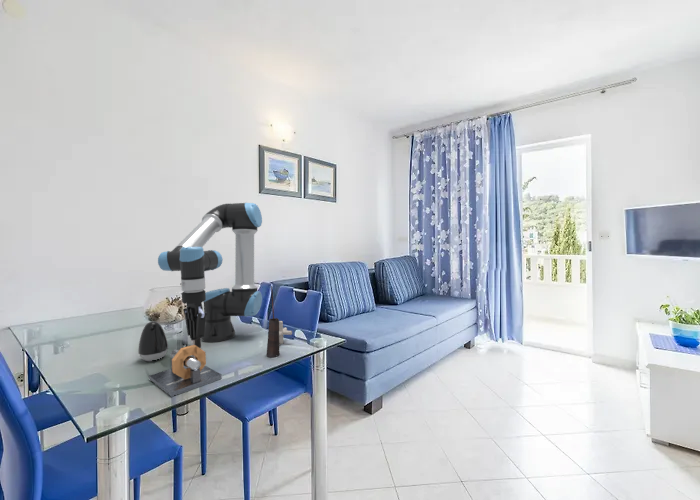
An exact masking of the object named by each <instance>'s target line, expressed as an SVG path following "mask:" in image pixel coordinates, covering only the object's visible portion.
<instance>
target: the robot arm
mask: <svg viewBox="0 0 700 500" xmlns="http://www.w3.org/2000/svg"><path fill="white" fill-rule="evenodd" d="M262 224H263V218H262V212H261V209H260V208H259V206H258V205H257V204H256V203H253V202H243V203H242V202H236V203H235V202H234V203H223V204H220V205H217V206H216V207H214V208H212V209H211V210H209V211H207V212H206V213H205V214H204V215H203V216H202V218H201V222H199V223H198V225H197V226H195V227H194V228H193V230H191V231H190V232H189V233H188V234H187V235H186V236H185V237H184V238H183V239H182V240H181V241H180V242H179V243H178V244H177V245H176V246H175V247H174V248H173V249H172V250H170V251H169V250H167V251H163V252H161V253H159V254H158V258H157V265H158V267H159V268H160V270H162V271H167V272H180V286H181V291H182V292H181V302H182V303H183V304H185V305H186V308H183V309H182V311H183V314H184V319H185V320H184V321H185V327H186V333H187V336H188V337H189V338H190V342H191V343H190V344H191V345H196V346H197V347H199V348H200V349H202V341H203V342H205V343H218V342H224V341H227V340H230V339H233V338H235V336H236V330H235V328H234V325H233V323H232V320H231V317H245V318H246V317H254V316H256V315H257V314H258V313H259V311H260V309H261V307H262V303H263V294H262V292H261V291H258V286H257V285H255V234H257V232H258V228H260V227H261V226H262ZM229 228H230V229H231V232H232V233H234V235H235V244H234V245H235V248H234V249H235V253H234V254H235V257H234V258H235V260H234V262H235V264H234V265H235V272H234V274H235V275H234V276H235V278H234V280H235V281H234V283H235V284H234V285H233V286H232V287H231V290H230V288H229V287H224V288H217V289H213V290H209V291H206V290H205V289H206V278H205V272H208V271H214V270H216V269H219V268H220V267H221V266H222V263H223V259H224V258H223V256H222V254H221V253H220V252H219V251H217V250H213V249H210V250H204V248H203V247H204V246H205V245H206V244H207V243H208V241H209V240H210V239H211V238H212V237H213V236H214V235H215V234H216V233H219V232H220V231H221V230H222V229H229ZM202 303H203V305H202ZM191 345H190V346H191ZM191 356H192V357H193V358H194V359H195V356H194V355H191Z"/></svg>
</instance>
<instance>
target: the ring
mask: <svg viewBox="0 0 700 500" xmlns="http://www.w3.org/2000/svg"><path fill="white" fill-rule="evenodd" d="M178 350H179V351H178V353H177V354H176V355H175V356H174V358H173V359H172V358H171V359H172V372H173V373H174V374H176V375H178V376H179V377H181V378H183V379H188V378H190V370H191V368H187V369H185V368H184V365H183V362H184V360H185V359H186V358H187V357H188V356H192V355H194V356H195V358H194V359H196V360H198V361H200V362H201V366H200V368H199V369H200V372H201V370H202V369H203V367H204V366H206V365H207V357H206V351H205V350H203V349H202V348H201V349H200V348H199V347H197V346H196V345H188V346H184V347H181V348H180V349H178Z"/></svg>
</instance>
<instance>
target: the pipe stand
mask: <svg viewBox="0 0 700 500" xmlns="http://www.w3.org/2000/svg"><path fill="white" fill-rule="evenodd" d="M179 350H180V349H173V350H172V351H171V352H170V366H171V368H169V369H166V370H162V371H160V372H159V371H158V372H156V373H153V374H150V375H148V380H149V379H150V380H151V381H153V382H154V383H155V384H156V385H158V386H159V387H160V388H161V389H162V391H163V390H164V391H165V392H166V393H165V392H164V391H163V392H164V393H165V394H167V393H168V394H169V395H170V396H171V398H173V397H175V396H174V395H176V396H178V395H177V394H179V395H181V394H184V393H186V392H189V391H192V390H194V389H197V388H200V387H202V386H205V385H208V384H211V383H214V382H216V381H220V380H221V379H222V374H221V373H219V372H218V371H216V370H214V369H212V368H210V367H208V366H206V365H205V366H204V367H203V369H202V370H201V372H200V369H199V368H200V366H201V362H200V361H198V360H196V359H195V358H193V357H192V355H191V356H188V357H187V358H186V359H185V360H184V362H183V365H184V368H185V369H187V368H191V370H190V378H188V379H183V378H181V377H179V376H178V375H176V374H174V373H173V372H172V359H173V358H174V356H175V355H176V354H177V353H178V351H179ZM150 380H149V381H150ZM151 381H150V382H151ZM154 383H153V384H154ZM155 384H154V385H155ZM156 385H155V386H156ZM158 386H157V387H158ZM159 387H158V388H159ZM160 388H159V389H160ZM168 394H167V395H168ZM169 395H168V396H169ZM170 396H169V397H170Z"/></svg>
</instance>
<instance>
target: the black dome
mask: <svg viewBox="0 0 700 500" xmlns="http://www.w3.org/2000/svg"><path fill="white" fill-rule="evenodd" d="M168 343H169V342H168V338H167V336H166V333H165V331H164V328H163V327H162V325H161V324H160V323H159V322H158V321H154V320H153V321H148V323H146V324H145V325H144V327H143V329H142V330H141V334H140V338H139V342H138V349H137V350H138V351H137V352H138V354H139V357H140V358H141V360H143V361H144V362H153V361H152V360H156V359H159V360H161V359H163V358H162V357H165V356H166V354H167V351H168V349H169V344H168ZM160 358H161V359H160ZM156 361H157V360H156Z"/></svg>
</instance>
